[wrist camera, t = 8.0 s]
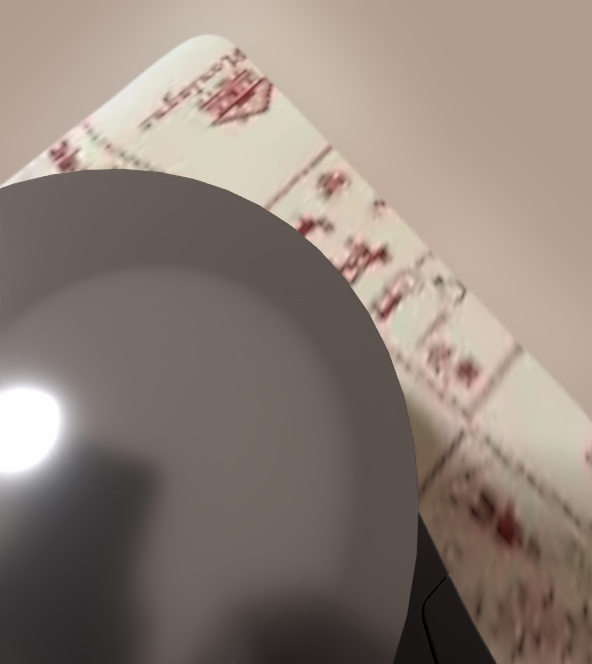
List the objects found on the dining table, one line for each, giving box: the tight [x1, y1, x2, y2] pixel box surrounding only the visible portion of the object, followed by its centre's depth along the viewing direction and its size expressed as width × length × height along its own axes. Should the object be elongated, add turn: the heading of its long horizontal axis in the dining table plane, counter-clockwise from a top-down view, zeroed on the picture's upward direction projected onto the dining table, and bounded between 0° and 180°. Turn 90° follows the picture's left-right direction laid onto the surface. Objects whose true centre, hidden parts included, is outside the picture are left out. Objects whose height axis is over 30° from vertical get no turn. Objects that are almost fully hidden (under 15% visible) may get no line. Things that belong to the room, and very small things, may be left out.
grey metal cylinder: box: [0, 169, 419, 664], centre depth 9 cm, size 5×5×13 cm
